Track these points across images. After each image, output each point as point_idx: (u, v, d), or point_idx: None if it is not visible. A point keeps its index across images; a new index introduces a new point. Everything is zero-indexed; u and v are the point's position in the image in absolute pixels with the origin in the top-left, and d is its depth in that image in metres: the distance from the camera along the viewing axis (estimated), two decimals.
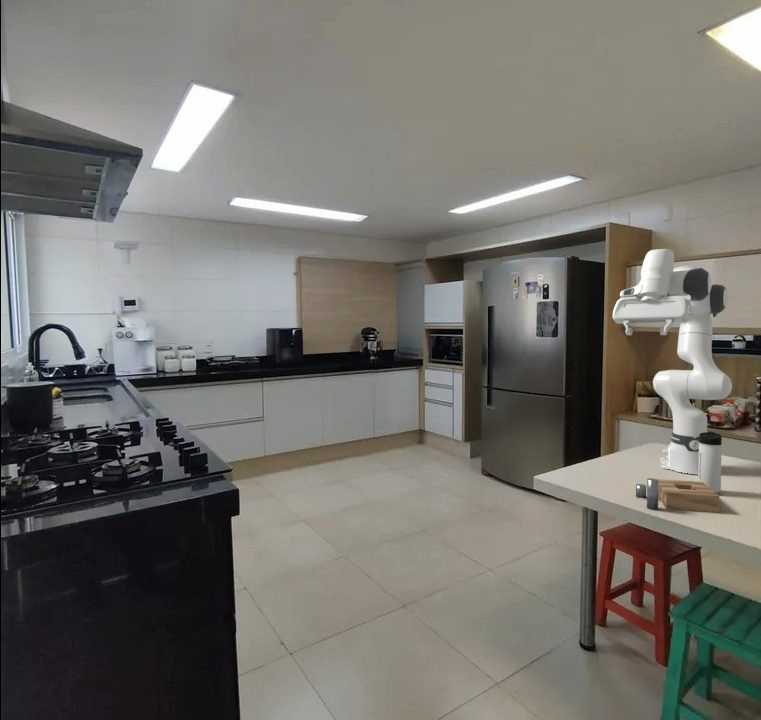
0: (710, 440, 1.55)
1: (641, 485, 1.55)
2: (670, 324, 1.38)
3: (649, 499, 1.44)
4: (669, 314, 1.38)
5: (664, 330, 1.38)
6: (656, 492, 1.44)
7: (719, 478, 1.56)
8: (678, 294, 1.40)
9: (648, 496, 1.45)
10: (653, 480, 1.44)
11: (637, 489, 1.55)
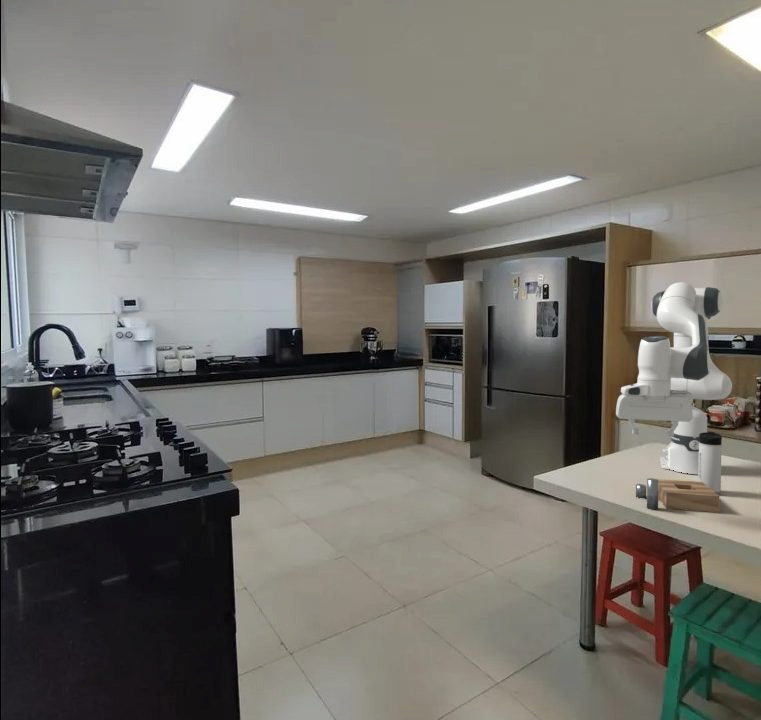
0: (710, 440, 1.55)
1: (641, 485, 1.55)
2: None
3: (649, 499, 1.44)
4: (677, 418, 1.40)
5: (672, 433, 1.41)
6: (656, 492, 1.44)
7: (719, 478, 1.56)
8: (680, 392, 1.41)
9: (648, 496, 1.45)
10: (653, 480, 1.44)
11: (637, 489, 1.55)
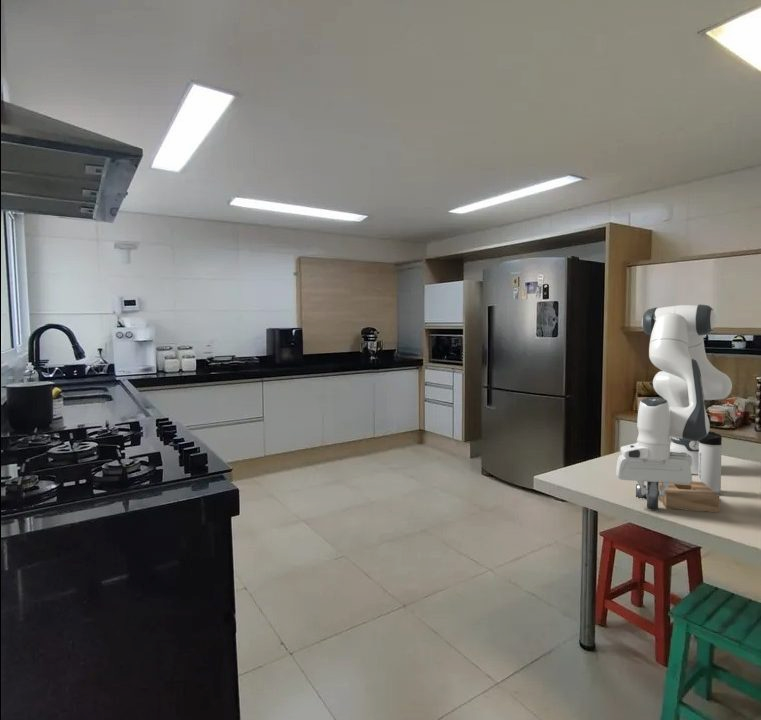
0: (710, 440, 1.55)
1: None
2: None
3: (649, 499, 1.44)
4: (676, 480, 1.41)
5: (663, 494, 1.43)
6: (656, 492, 1.44)
7: (719, 478, 1.56)
8: (679, 454, 1.42)
9: (648, 496, 1.45)
10: None
11: (637, 489, 1.55)
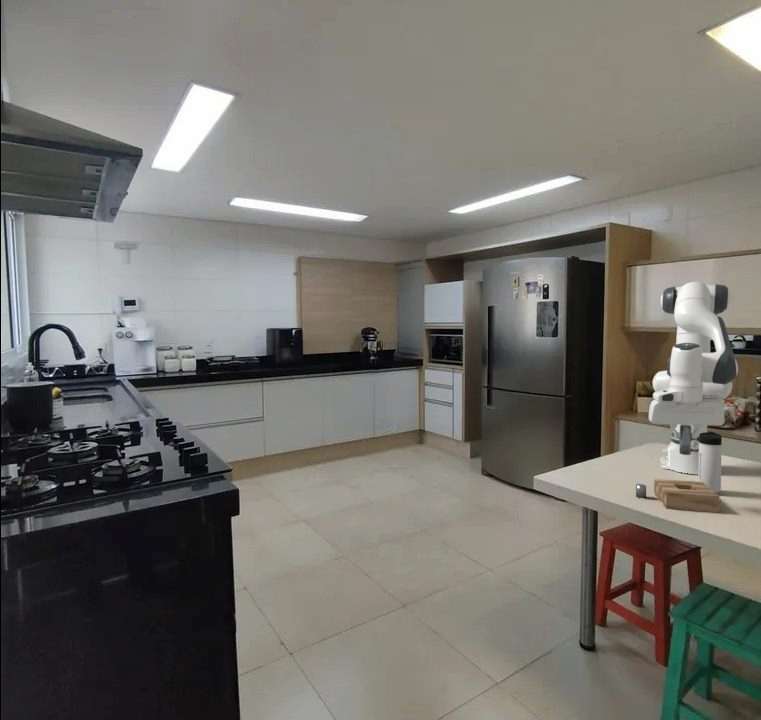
0: (710, 440, 1.55)
1: (641, 485, 1.55)
2: None
3: (682, 445, 1.48)
4: (709, 422, 1.45)
5: (695, 436, 1.47)
6: (689, 437, 1.47)
7: (719, 478, 1.56)
8: (712, 397, 1.45)
9: (681, 441, 1.49)
10: (686, 426, 1.48)
11: (637, 489, 1.55)
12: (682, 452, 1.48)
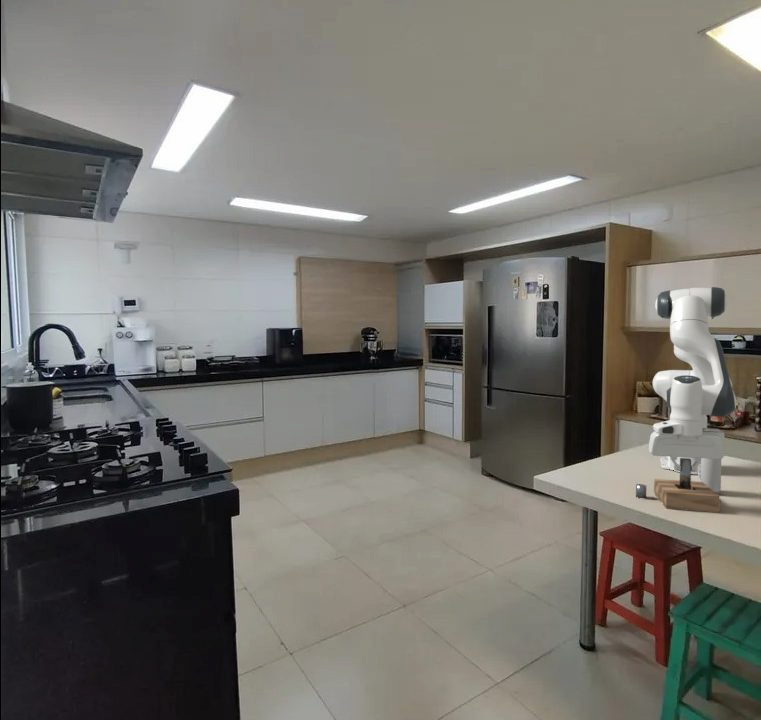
0: None
1: (641, 485, 1.55)
2: None
3: (682, 478, 1.49)
4: (709, 455, 1.45)
5: (695, 469, 1.48)
6: (689, 471, 1.48)
7: (719, 478, 1.56)
8: (712, 430, 1.46)
9: (681, 475, 1.49)
10: (686, 459, 1.48)
11: (637, 489, 1.55)
12: (682, 485, 1.49)
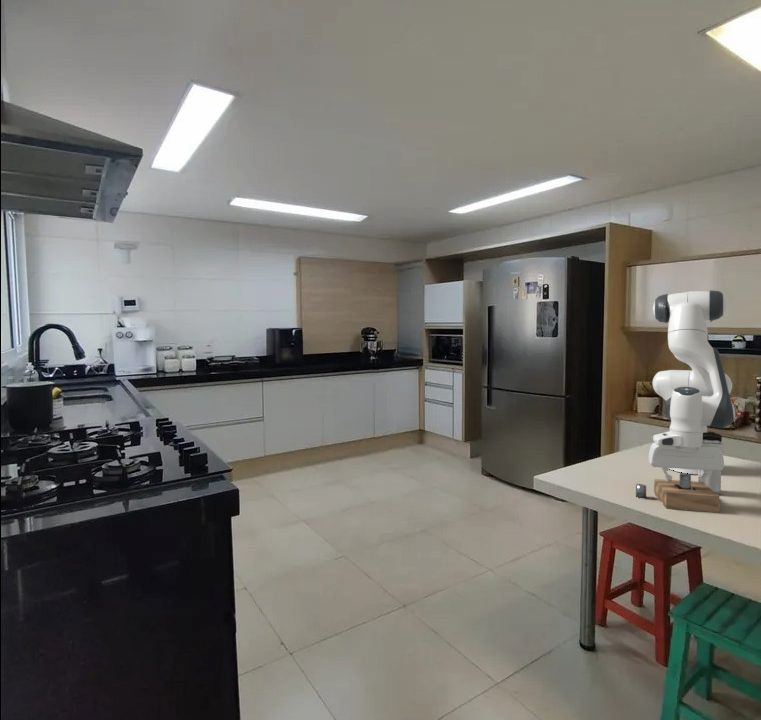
0: None
1: (641, 485, 1.55)
2: None
3: None
4: (709, 467, 1.46)
5: (704, 481, 1.47)
6: (688, 486, 1.48)
7: (719, 478, 1.56)
8: (712, 442, 1.46)
9: None
10: (685, 475, 1.49)
11: (637, 489, 1.55)
12: None
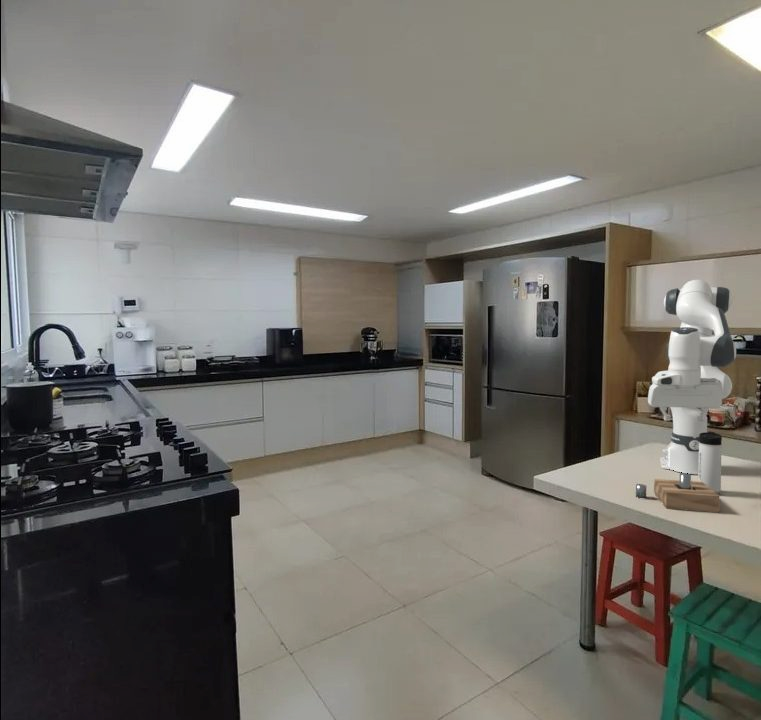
0: (710, 440, 1.55)
1: (641, 485, 1.55)
2: None
3: None
4: (707, 405, 1.48)
5: (703, 419, 1.50)
6: (688, 486, 1.48)
7: (719, 478, 1.56)
8: (710, 380, 1.49)
9: None
10: (685, 475, 1.49)
11: (637, 489, 1.55)
12: None
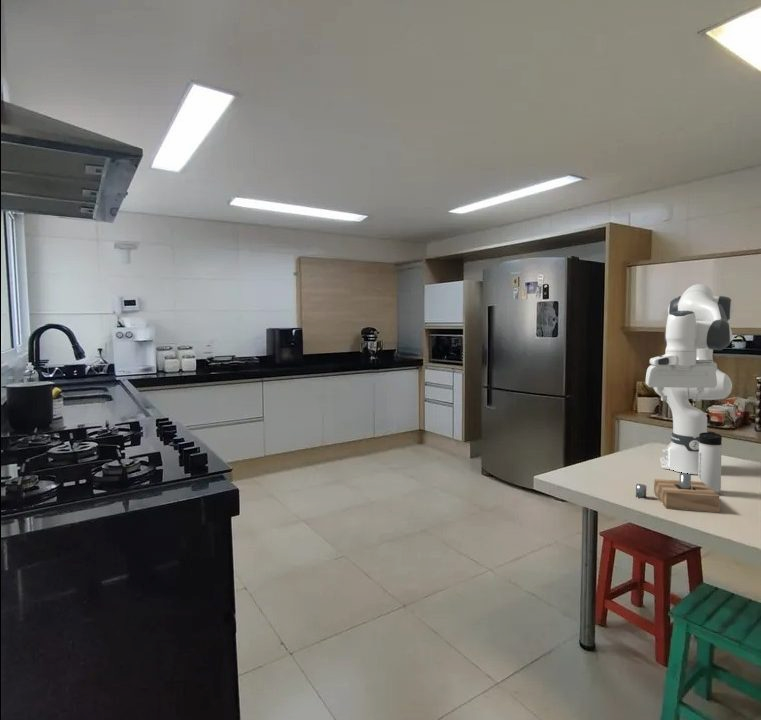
0: (710, 440, 1.55)
1: (641, 485, 1.55)
2: None
3: None
4: (702, 385, 1.53)
5: (698, 399, 1.55)
6: (688, 486, 1.48)
7: (719, 478, 1.56)
8: (705, 361, 1.54)
9: None
10: (685, 475, 1.49)
11: (637, 489, 1.55)
12: None
